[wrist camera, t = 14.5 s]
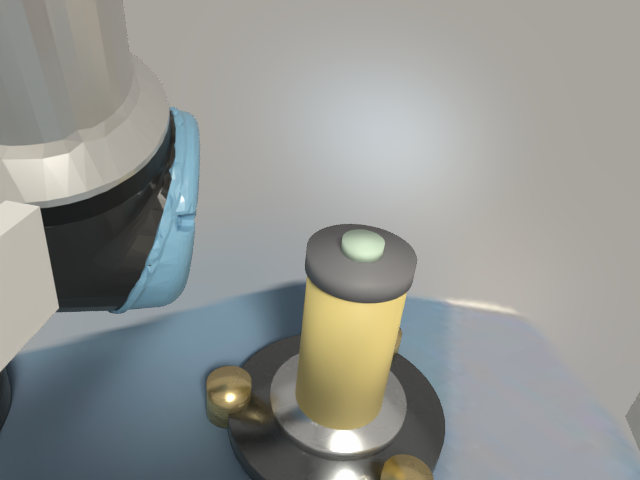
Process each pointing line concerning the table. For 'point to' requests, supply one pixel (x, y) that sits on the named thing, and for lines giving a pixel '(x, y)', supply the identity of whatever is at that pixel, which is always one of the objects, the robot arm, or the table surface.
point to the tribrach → (318, 441)
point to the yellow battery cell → (350, 322)
